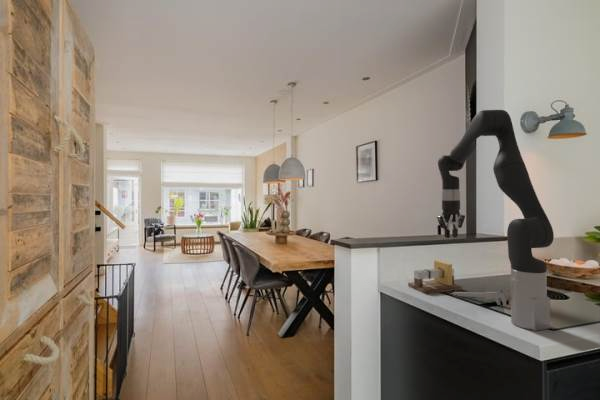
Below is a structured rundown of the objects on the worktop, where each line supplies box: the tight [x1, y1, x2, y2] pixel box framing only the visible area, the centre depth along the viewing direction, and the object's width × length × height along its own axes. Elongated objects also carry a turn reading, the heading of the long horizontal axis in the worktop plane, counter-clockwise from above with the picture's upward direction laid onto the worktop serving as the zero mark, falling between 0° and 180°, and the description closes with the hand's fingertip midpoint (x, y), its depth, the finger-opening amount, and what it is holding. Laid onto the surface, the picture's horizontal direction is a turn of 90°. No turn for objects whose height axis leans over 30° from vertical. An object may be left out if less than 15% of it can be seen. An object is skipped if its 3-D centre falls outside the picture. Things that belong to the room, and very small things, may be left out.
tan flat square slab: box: [433, 259, 453, 286], centre depth 147 cm, size 9×2×9 cm, turn 16°
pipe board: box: [407, 275, 463, 295], centre depth 146 cm, size 12×18×5 cm, turn 106°
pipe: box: [413, 268, 455, 280], centre depth 145 cm, size 3×18×3 cm, turn 106°
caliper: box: [450, 289, 507, 308], centre depth 128 cm, size 20×1×6 cm, turn 38°
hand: (451, 237), depth 151 cm, fingers open, 3 cm apart
